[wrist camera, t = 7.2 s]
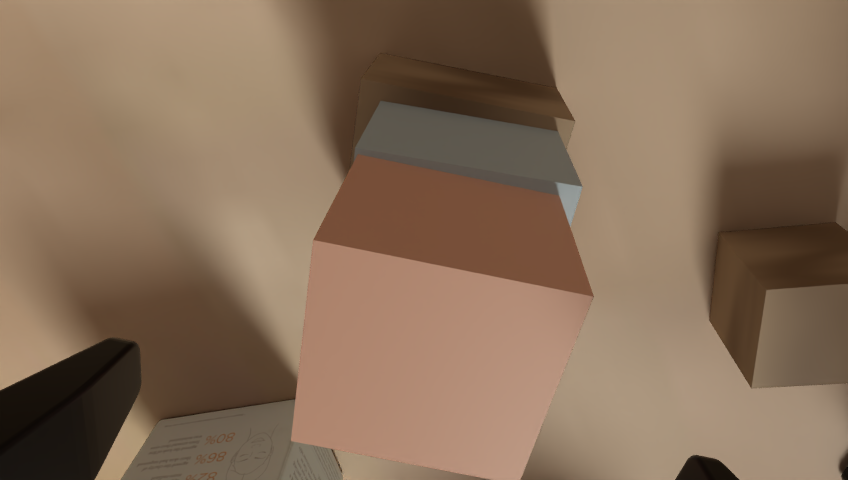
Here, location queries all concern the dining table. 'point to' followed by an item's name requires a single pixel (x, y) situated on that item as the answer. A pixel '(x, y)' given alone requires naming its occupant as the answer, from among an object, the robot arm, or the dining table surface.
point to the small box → (232, 448)
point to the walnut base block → (459, 95)
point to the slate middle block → (473, 149)
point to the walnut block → (784, 303)
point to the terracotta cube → (437, 319)
